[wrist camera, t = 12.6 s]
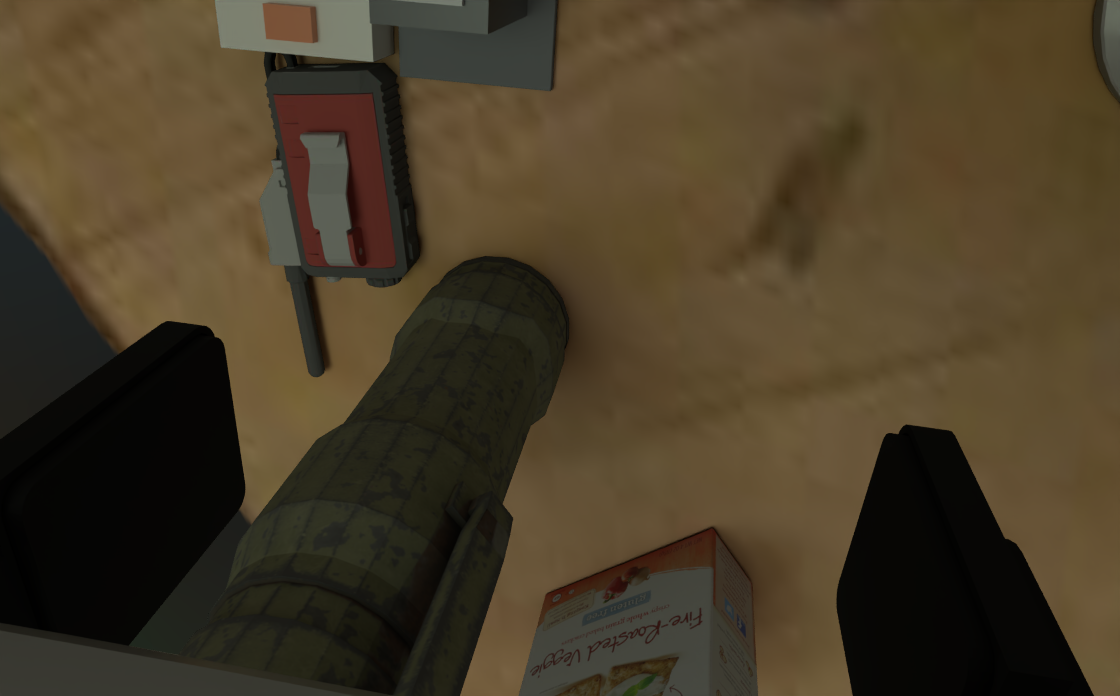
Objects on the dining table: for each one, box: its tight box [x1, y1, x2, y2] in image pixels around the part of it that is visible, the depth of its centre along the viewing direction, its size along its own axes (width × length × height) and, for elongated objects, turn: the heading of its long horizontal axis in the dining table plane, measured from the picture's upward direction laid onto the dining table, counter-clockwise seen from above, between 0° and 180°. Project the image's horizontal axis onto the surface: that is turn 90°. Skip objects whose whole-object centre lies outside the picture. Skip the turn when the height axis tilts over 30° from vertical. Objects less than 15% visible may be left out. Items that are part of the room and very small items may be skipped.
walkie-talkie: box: [260, 52, 420, 377], centre depth 45 cm, size 9×4×20 cm
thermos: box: [179, 256, 569, 696], centre depth 33 cm, size 9×12×35 cm
